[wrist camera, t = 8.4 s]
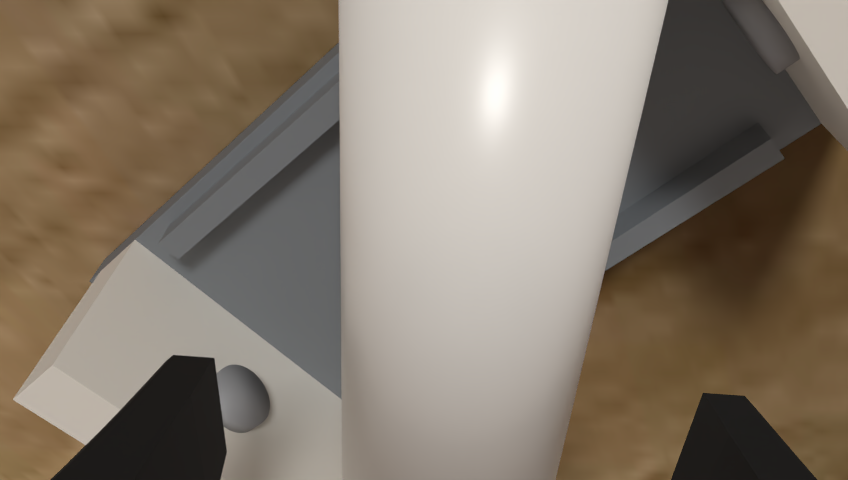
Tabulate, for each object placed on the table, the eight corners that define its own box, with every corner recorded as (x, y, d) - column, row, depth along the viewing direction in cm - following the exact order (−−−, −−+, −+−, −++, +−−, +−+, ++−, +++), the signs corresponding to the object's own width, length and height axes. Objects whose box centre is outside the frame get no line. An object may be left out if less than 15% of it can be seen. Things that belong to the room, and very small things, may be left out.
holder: (891, 48, 16) (1061, 168, 12) (319, 419, 23) (284, 585, 19) (696, -288, 13) (822, -306, 8) (105, 259, 20) (0, 410, 16)
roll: (614, -93, 14) (741, -16, 9) (525, 392, 20) (577, 560, 16) (336, -104, 13) (340, -28, 9) (340, 399, 20) (344, 576, 16)
